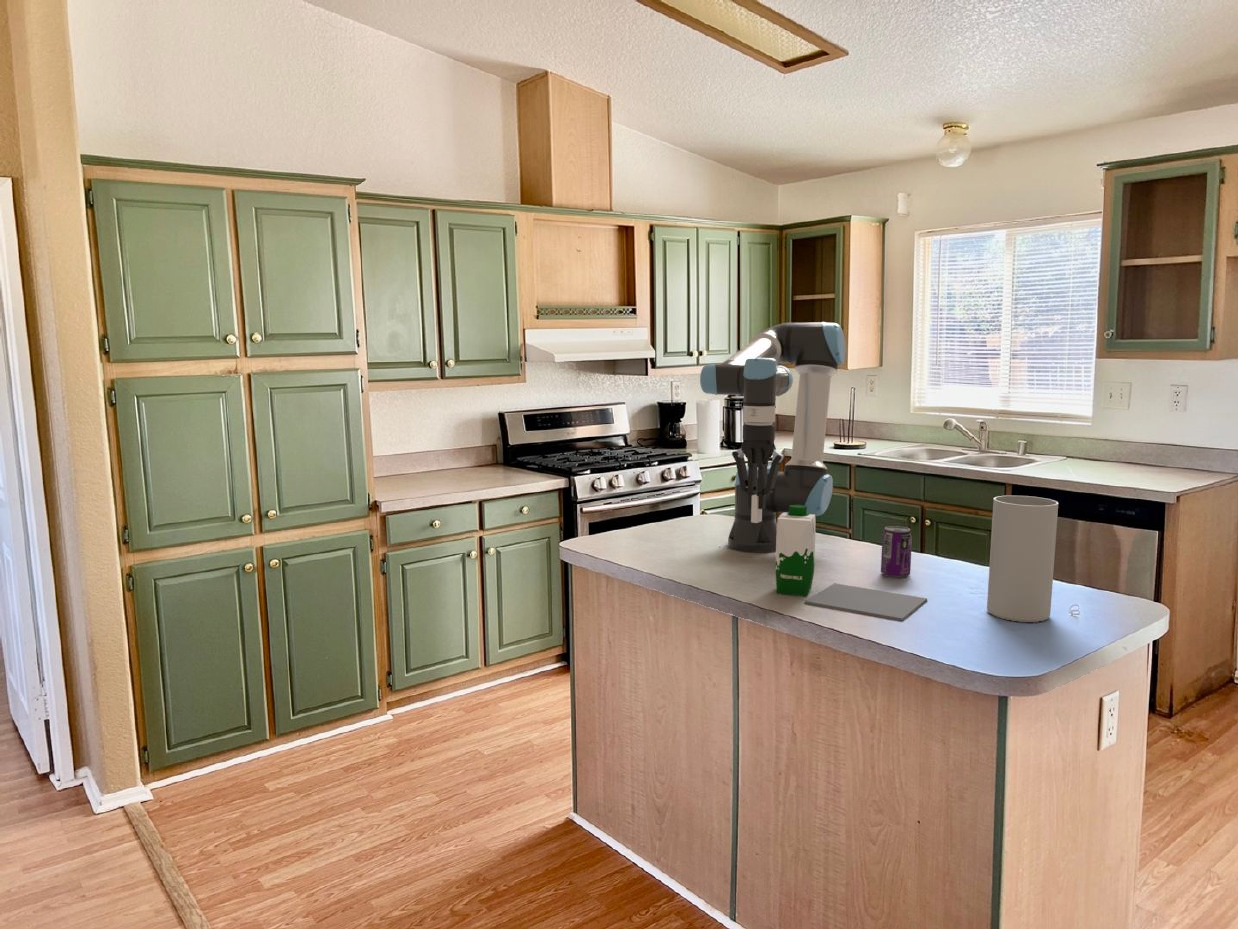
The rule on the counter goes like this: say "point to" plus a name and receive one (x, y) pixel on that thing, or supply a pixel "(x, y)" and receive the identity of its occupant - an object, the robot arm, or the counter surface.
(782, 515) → the soya milk
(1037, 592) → the cylinder vase
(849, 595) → the mat
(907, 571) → the beverage can
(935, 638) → the counter surface
